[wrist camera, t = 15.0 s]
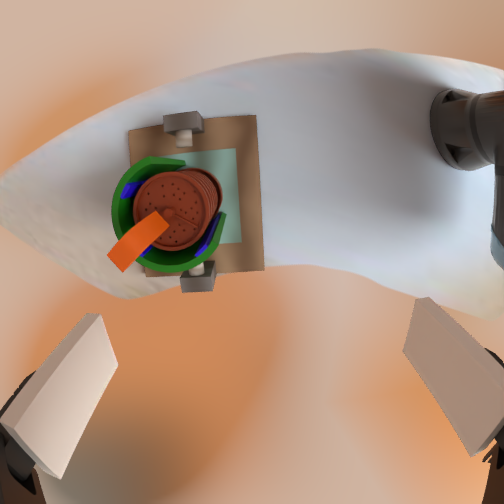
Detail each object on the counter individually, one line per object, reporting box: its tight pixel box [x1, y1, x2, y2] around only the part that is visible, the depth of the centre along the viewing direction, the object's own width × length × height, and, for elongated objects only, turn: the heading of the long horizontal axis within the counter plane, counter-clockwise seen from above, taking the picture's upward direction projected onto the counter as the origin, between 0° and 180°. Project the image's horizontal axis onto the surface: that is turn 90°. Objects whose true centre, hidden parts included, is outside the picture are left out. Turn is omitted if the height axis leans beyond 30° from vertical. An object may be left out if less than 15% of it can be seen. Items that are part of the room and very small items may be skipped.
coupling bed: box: [129, 111, 264, 293], centre depth 35 cm, size 18×22×8 cm
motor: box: [107, 156, 227, 273], centre depth 28 cm, size 10×9×20 cm
